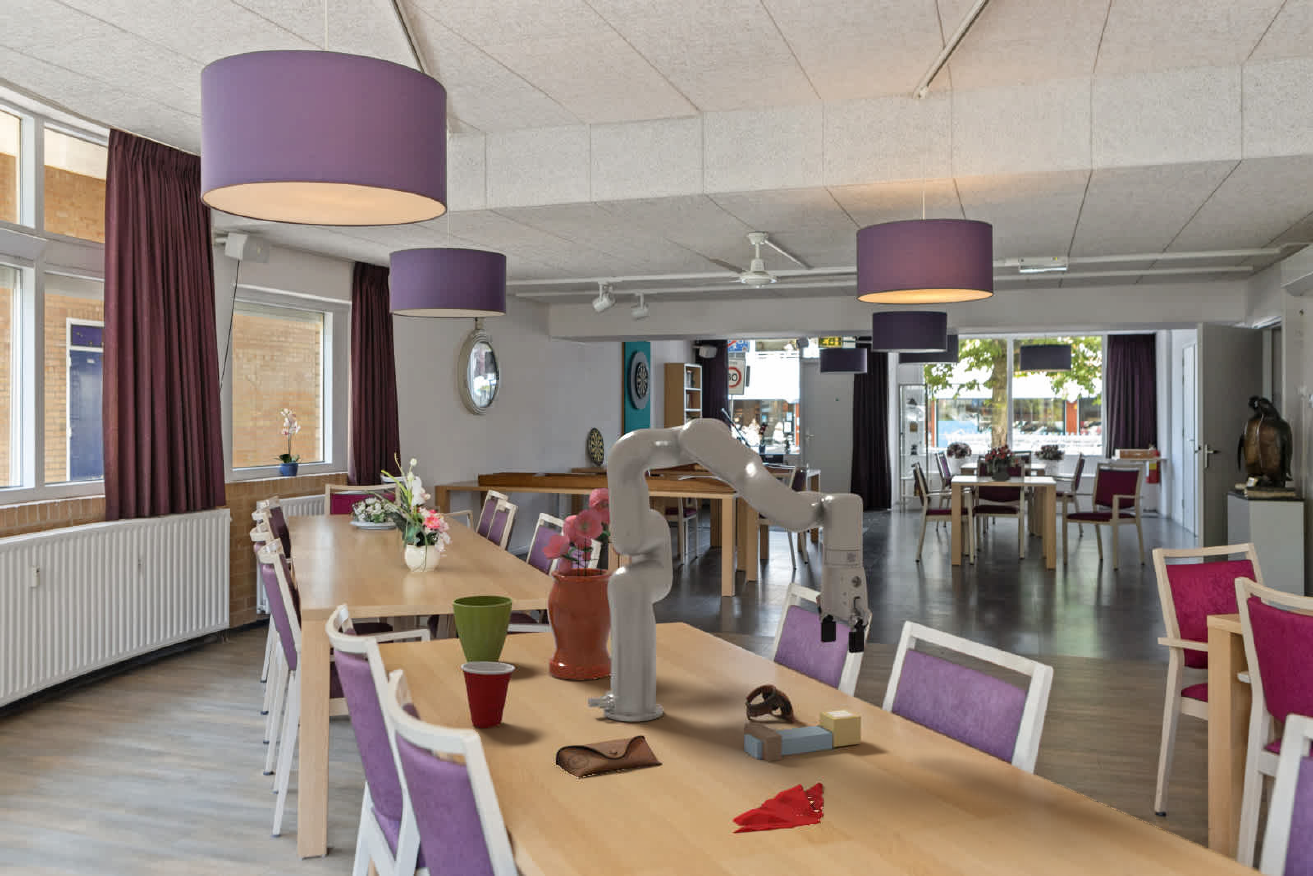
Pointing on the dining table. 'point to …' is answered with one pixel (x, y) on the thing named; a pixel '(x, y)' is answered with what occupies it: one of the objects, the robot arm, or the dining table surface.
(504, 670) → the plastic cup
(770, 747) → the banded blue brick
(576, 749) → the sunglasses case
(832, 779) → the dining table surface
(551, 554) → the potted flower
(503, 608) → the flower pot
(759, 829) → the cloth
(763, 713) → the brown looped band
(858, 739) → the stub
